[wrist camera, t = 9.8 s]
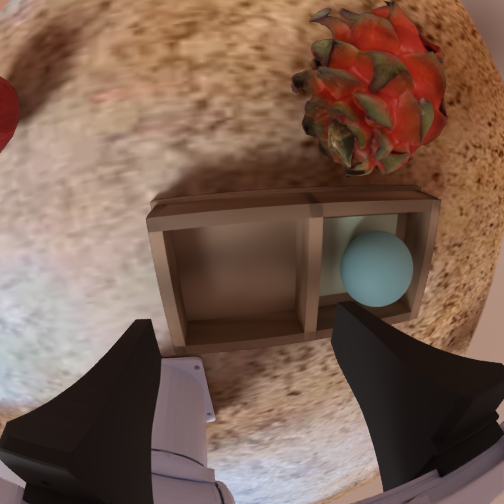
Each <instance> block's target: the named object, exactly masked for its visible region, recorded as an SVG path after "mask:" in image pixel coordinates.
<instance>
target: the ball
mask: <svg viewBox="0 0 504 504" xmlns="http://www.w3.org/2000/svg"><path fill="white" fill-rule="evenodd" d="M340 275H341V280H342V283H343V285H344V287H345V289H346V291H347V292H348V293H349V295H350V296H351V297H352V298H353V299H355V300H356V301H358V302H359V303H361V304H364V305H366V306H371V307H382V306H386V305H389V304H391V303H393V302H395V301H397V300H398V299H399V298H400V297H401V296H402V295H403V294H404V293H405V292H406V290H407V289H408V287H409V285H410V283H411V280H412V276H413V261H412V257H411V254H410V252H409V250H408V248H407V246H406V245H405V244H404V243H403V242H402V240H400V239H399V238H398V237H397V236H395V235H393V234H391V233H389V232H385V231H369V232H366V233H363V234H361V235H359V236H358V237H356V238H355V239H354V240H352V241H351V242H350V243H349V245H348V246H347V248H346V249H345V251H344V253H343V256H342V259H341V264H340Z"/></svg>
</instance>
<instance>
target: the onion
mask: <svg viewBox="0 0 504 504" xmlns="http://www.w3.org/2000/svg"><path fill="white" fill-rule="evenodd" d="M19 111H20V104H19V101H18V97H17V93H16V91H15V89H14V88H13V87H12V85H11V84H10V83H9V82H8V81H7V80H5V79H4V78H2V77H0V153H1V151H2V150H3V149H4V148H5V146H6V145H7V143H8V142H9V141H10V139H11V138H12V137H13V135H14V132H15V129H16V127H17V124H18V122H19Z"/></svg>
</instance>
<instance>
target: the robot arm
mask: <svg viewBox="0 0 504 504" xmlns="http://www.w3.org/2000/svg"><path fill="white" fill-rule="evenodd" d="M331 344H332V347H333V350H334V353H335V356H336V359H337V361H338V364H339V366H340V368H341V370H342V372H343V374H344V376H345V378H346V380H347V381H348V383H349V385H350V387H351V389H352V391H353V393H354V395H355V397H356V399H357V401H358V403H359V405H360V408H361V410H362V412H363V415H364V418H365V421H366V424H367V426H368V429H369V433H370V436H371V439H372V442H373V446H374V449H375V453H376V457H377V461H378V465H379V470H380V475H381V480H382V485H383V491H384V492H383V493H381V494H378V495H375V496H373V497H370V498H367V499H364V500H361V501H358V502H355V503H352V504H490V503H492V501H494V500H495V499H496V498H497V497H499V496H500V495H501V494H502V493H503V492H504V421H503V422H502V423H501V424H500V425H499V424H498V423H497V421H496V420H497V419H498V418H499V415H498V413H497V412H496V411H495V410H496V409H497V408H498V406H499V405H500V404H501V402H502V401H503V399H504V365H503V364H501V363H495V362H487V361H479V360H475V359H470V358H466V357H462V356H458V355H455V354H452V353H449V352H446V351H443V350H440V349H437V348H435V347H432V346H430V345H428V344H425V343H423V342H421V341H419V340H417V339H415V338H412V337H411V336H409V335H407V334H405V333H403V332H401V331H400V330H398V329H396V328H394V327H393V326H391V325H389V324H388V323H386V322H385V321H383V320H381V319H380V318H378V317H377V316H375V315H373V314H372V313H370V312H369V311H367V310H366V309H364V308H363V307H361V306H359V305H358V304H356V303H354V302H352V301H344V302H337V305H336V312H335V319H334V325H333V332H332V338H331ZM196 366H198V367H196ZM212 421H215V413H214V409H213V405H212V401H211V397H210V393H209V389H208V385H207V380H206V376H205V372H204V367H203V363H202V360H201V358H199V357H182V358H161V354H160V351H159V347H158V344H157V340H156V337H155V333H154V329H153V325H152V321H151V319H136V320H135V321H134V322H133V323H132V325H131V326H130V327H129V328H128V329H127V330H126V331H125V333H124V334H123V335H122V336H121V337H120V338H119V340H118V341H117V342H116V343H115V344H114V345H113V346H112V348H111V349H110V350H109V351H108V352H107V353H106V354H105V355H104V356H103V357H102V358H101V359H100V360H99V361H98V362H97V363H96V364H95V365H94V367H93V368H91V369H90V370H89V371H88V372H87V373H86V374H85V375H84V376H83V377H82V378H80V379H79V380H78V381H77V382H76V383H74V384H73V385H72V386H71V387H69V388H68V389H66V390H65V391H64V392H62V393H61V394H59V395H58V396H57V397H55V398H54V399H52V400H50V401H49V402H47V403H46V404H44V405H42V406H40V407H38V408H37V409H35V410H33V411H31V412H29V413H27V414H25V415H22V416H20V417H18V418H16V419H13V420H11V421H8V422H7V423H6V426H5V428H4V430H3V433H2V435H1V438H0V460H1V461H2V462H3V463H4V464H5V465H6V466H8V468H9V469H11V470H12V471H13V472H14V473H15V474H16V475H18V476H19V477H20V478H21V479H23V480H24V481H25V482H26V486H25V489H24V488H22V487H20V486H19V485H17V484H14V483H12V482H10V481H7V480H5V479H3V478H1V477H0V504H235V501H234V498H233V495H232V494H231V492H230V491H229V490H228V488H227V486H226V485H225V484H224V483H223V482H221V481H215V473H214V469H210V468H207V441H206V422H212Z"/></svg>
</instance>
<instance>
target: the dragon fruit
mask: <svg viewBox="0 0 504 504" xmlns="http://www.w3.org/2000/svg"><path fill="white" fill-rule="evenodd" d="M384 2H385V3H386V4H387V6H382V7H379V8H376V9H374V10H372V11H371V12H370V13H367V12H364V14H362V15H359V14H355V13H352V12H350V11H348V10H345V9H343V8H342V10H341V12H340V13H341V14H342V16H344V17H346V18H348V19H351V20H356V21H355V23H354V24H353V26H352V28H350V27H349V26H348V25H347V24H346V23H344V22H343V21H342V20H340V19H338V18H336V17H331V16H327V15H328V14H329V13H330V12H331V10H332V9H330V8H325V9H323V10H321V11H319V12H317V13H316V14H315V15H314V16H313V17H312V18H311V19H310V20H309V22H317V23H320V24H322V25H325V26H326V27H328V28H329V29H330V31H331V32H332V34H333V38H334V39H325V40H321V41H316V42H314V43H313V44H312V46H311V51H312V55H313V56H314V59H313V60H312V64H311V66H312V68H313V70H305V71H303V72H300V73H297V74H295V75H294V76H293V77H292V78H291V80H292V83H291V87H292V90H293V92H295V93H297V92H299V89H298V88H302V89H304V90H306V91H308V92H309V93H310V94H312V95H313V97H312V98H311V99H310V101H307V103H306V105H305V115H304V119H303V121H302V125H303V129H304V131H305V133H306V134H307V135H310V136H316V137H318V146H319V149H320V151H321V152H322V153H323V154H324V155H325V156H327V157H328V158H329V159H330V160H332V161H333V162H338V163H340V164H341V165H342V166H343V169H344V171H345V173H343V174H347V177H354V176H363V175H367V174H369V173H371V172H372V171H373V169H374V167H375V166H376V169H377V170H378V171H379V172H380V173H381V174H382V175H386V174H387V173H390V172H393V171H395V170H397V169H399V168H400V166H402V165H405V164H407V163H408V162H410V161H411V160H412V159H413V158H414V152H415V150H416V149H417V148H419V147H420V146H421V145H426V144H428V143H430V142H431V141H433V140H434V139H435V138H436V137H438V136H439V135H440V133H441V131H442V130H443V128H444V127H445V125H446V123H447V119H448V117H447V114H446V110H445V107H444V97H443V96H444V93H445V88H446V82H445V75H444V57H443V54H442V51H441V49H440V47H439V46H436V45H433V44H431V43H430V42H429V41H428V40H427V39H426V38H425V37H424V36H423V35H422V34H421V33H420V31H418V30H417V27H416V25H415V23H414V22H413V21H412V20H411V19H410V18H409V17H407V16H406V15H405V13H404V12H403V11H402V9H401V8H400V7H399V5H398V4H396V3H394V2H393V3H391V2H387V1H384ZM347 177H346V178H347Z"/></svg>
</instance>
